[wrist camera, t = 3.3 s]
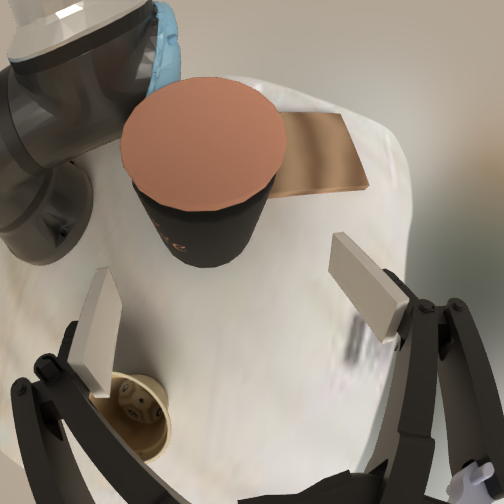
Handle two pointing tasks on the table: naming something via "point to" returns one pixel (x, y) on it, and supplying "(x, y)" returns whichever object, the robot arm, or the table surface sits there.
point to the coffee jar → (204, 164)
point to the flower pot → (147, 423)
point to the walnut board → (317, 157)
